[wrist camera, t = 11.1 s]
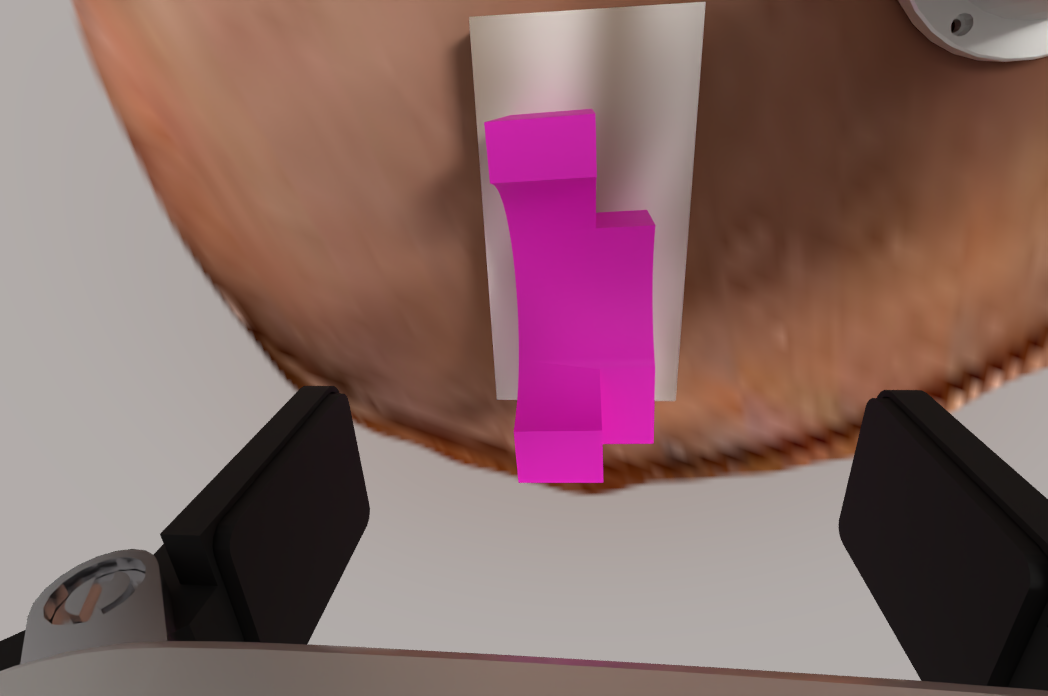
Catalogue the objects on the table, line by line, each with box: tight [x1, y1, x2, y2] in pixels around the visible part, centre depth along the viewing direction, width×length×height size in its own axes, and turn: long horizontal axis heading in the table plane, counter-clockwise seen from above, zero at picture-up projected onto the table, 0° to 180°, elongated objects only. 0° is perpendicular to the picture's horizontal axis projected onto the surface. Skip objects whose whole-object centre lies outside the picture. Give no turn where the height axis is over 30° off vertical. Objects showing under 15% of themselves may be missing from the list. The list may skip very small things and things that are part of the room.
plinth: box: [469, 2, 706, 401], centre depth 29 cm, size 10×19×3 cm, turn 3°
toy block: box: [484, 109, 656, 483], centre depth 25 cm, size 15×6×8 cm, turn 4°
